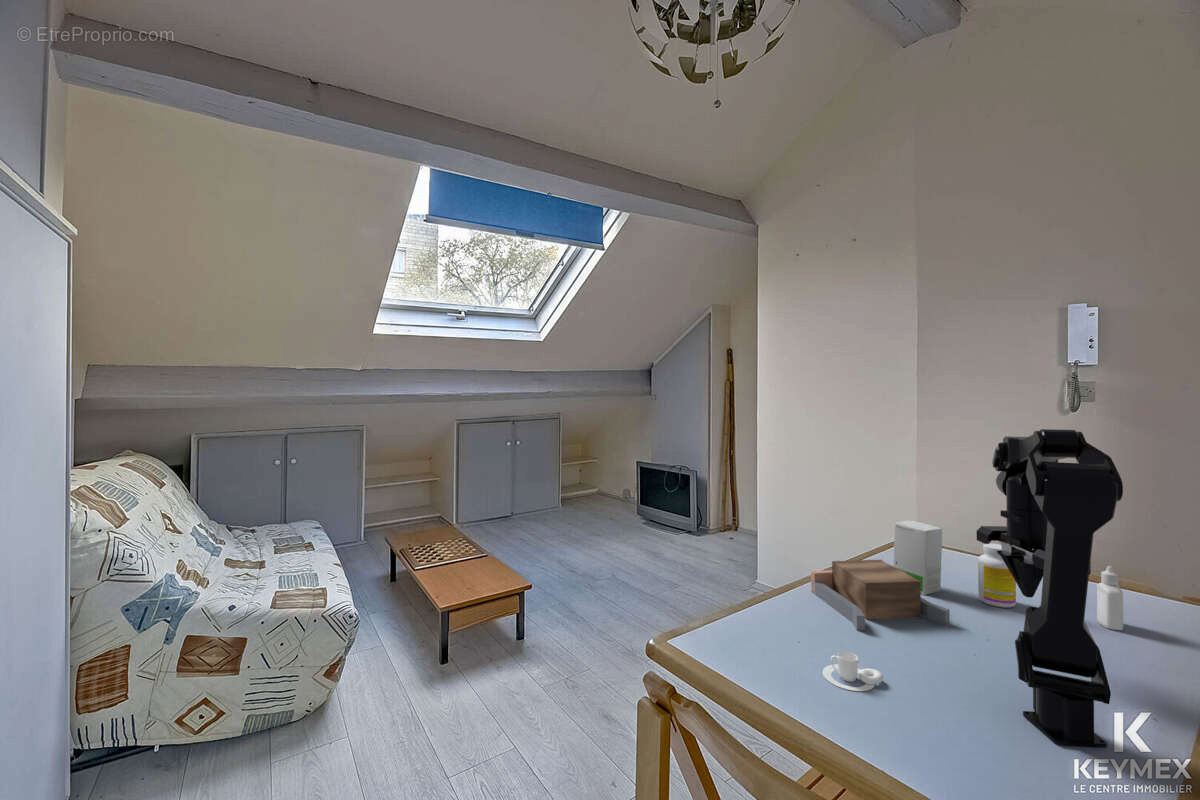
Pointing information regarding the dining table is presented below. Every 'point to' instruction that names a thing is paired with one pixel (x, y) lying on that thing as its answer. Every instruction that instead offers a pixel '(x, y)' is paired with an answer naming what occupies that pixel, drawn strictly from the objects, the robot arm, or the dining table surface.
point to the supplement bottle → (995, 579)
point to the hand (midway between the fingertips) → (1028, 596)
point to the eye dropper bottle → (1110, 601)
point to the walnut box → (877, 589)
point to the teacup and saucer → (852, 672)
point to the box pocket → (823, 590)
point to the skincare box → (919, 553)
